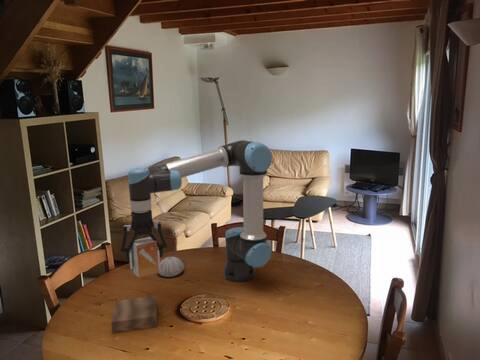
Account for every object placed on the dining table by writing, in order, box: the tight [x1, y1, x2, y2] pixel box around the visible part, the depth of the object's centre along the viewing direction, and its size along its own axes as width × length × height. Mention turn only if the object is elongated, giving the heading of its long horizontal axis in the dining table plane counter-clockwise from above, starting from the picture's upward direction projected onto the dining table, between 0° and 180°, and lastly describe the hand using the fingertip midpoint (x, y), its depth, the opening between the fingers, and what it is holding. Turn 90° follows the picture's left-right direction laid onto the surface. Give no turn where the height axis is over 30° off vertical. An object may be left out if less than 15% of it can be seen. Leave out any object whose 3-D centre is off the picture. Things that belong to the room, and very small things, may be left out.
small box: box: [131, 236, 159, 279], centre depth 154 cm, size 8×6×13 cm
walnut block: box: [111, 295, 158, 334], centre depth 158 cm, size 16×16×5 cm
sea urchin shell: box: [158, 256, 185, 278], centre depth 198 cm, size 13×14×8 cm
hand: (145, 266), depth 155 cm, fingers closed on small box, 10 cm apart
